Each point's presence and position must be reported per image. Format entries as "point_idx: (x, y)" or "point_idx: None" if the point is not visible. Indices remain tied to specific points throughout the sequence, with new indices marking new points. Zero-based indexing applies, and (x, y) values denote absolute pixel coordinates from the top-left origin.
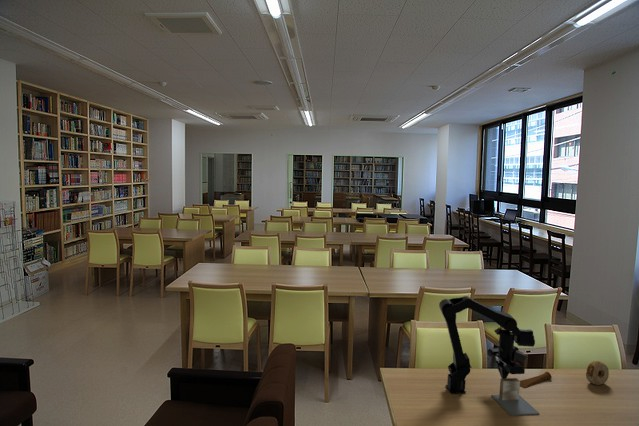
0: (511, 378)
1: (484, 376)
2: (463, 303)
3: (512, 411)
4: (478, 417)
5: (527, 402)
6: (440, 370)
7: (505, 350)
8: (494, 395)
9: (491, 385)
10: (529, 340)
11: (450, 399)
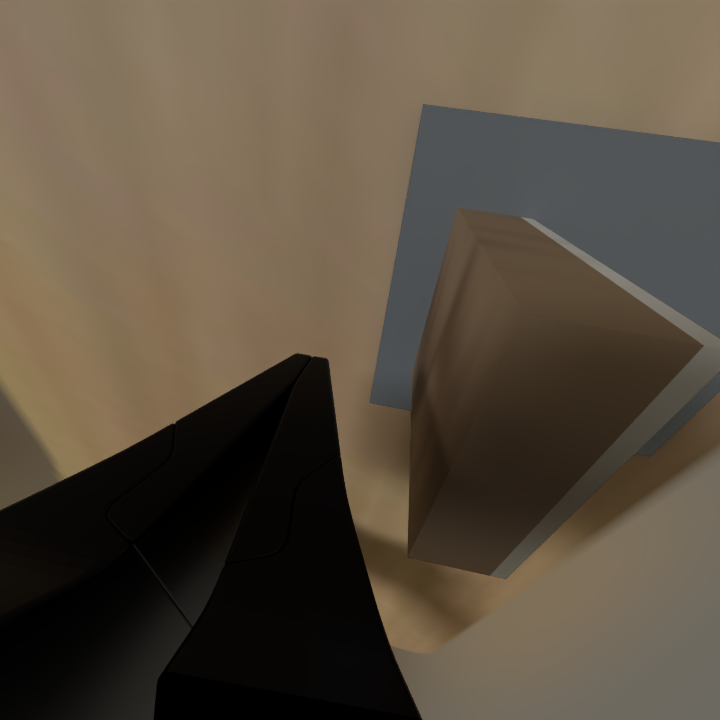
0: (478, 443)
1: (28, 234)
2: None
3: None
4: (533, 557)
5: (652, 138)
6: (67, 453)
7: None
8: (380, 388)
9: (201, 284)
10: None
11: None
